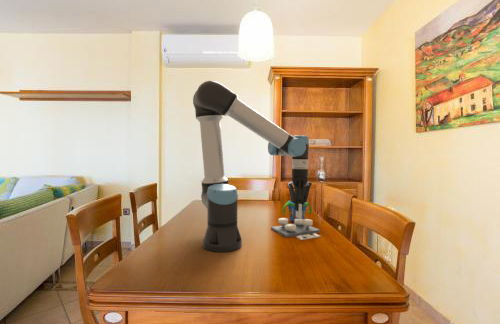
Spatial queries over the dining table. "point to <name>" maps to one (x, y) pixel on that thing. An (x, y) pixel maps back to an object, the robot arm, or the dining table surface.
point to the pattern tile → (308, 236)
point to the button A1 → (290, 227)
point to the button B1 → (307, 222)
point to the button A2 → (283, 221)
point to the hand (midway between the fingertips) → (298, 217)
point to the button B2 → (298, 222)
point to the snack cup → (293, 213)
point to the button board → (299, 230)
